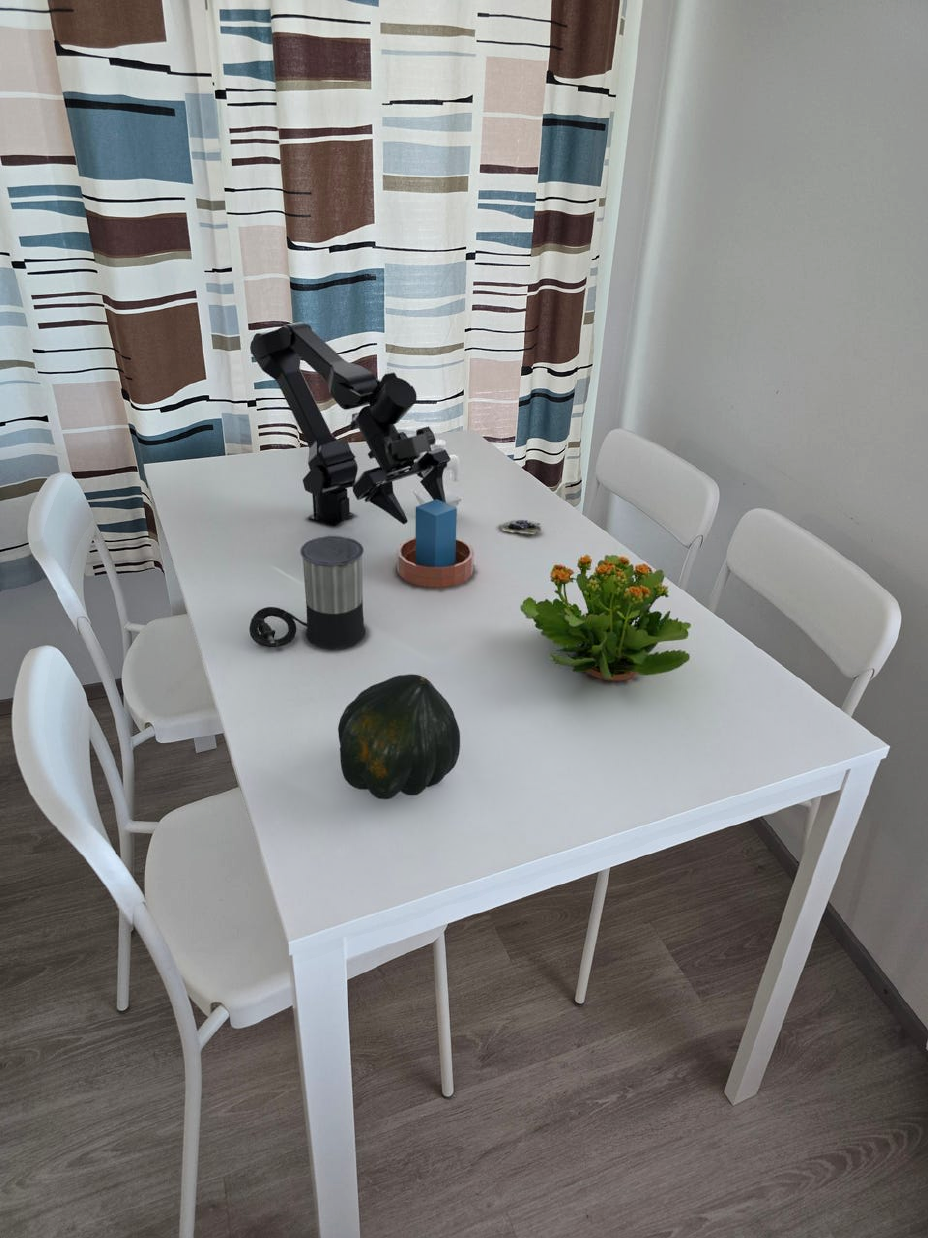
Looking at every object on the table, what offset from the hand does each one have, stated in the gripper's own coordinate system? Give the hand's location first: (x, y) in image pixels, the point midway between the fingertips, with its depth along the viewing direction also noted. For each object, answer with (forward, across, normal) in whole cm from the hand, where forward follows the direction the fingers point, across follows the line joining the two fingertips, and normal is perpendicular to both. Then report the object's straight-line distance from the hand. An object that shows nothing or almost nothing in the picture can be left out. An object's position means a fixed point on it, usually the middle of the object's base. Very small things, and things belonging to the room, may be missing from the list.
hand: (425, 515), depth 148 cm
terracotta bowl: (+9, 0, +5) cm, 10 cm away
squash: (+34, -40, -20) cm, 56 cm away
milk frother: (+11, -29, +3) cm, 31 cm away
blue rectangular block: (+9, 0, +5) cm, 10 cm away
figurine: (-4, +18, +18) cm, 26 cm away
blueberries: (+8, +24, +6) cm, 27 cm away
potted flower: (+37, -1, -22) cm, 43 cm away
